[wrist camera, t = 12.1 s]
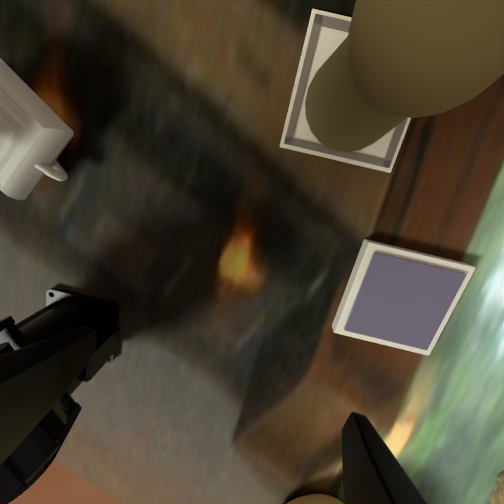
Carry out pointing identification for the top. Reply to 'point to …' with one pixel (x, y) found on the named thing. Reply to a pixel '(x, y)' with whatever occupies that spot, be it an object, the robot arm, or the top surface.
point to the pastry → (498, 491)
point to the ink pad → (400, 296)
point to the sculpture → (316, 499)
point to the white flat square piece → (296, 126)
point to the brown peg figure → (404, 67)
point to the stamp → (27, 137)
